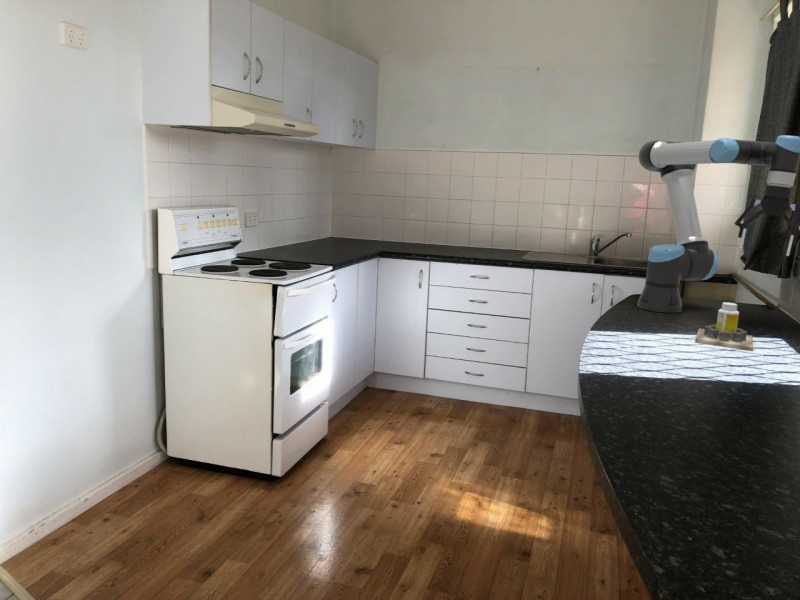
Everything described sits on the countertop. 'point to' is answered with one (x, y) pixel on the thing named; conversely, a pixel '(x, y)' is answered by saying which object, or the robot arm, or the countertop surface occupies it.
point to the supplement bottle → (727, 319)
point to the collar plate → (723, 343)
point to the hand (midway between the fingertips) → (763, 251)
